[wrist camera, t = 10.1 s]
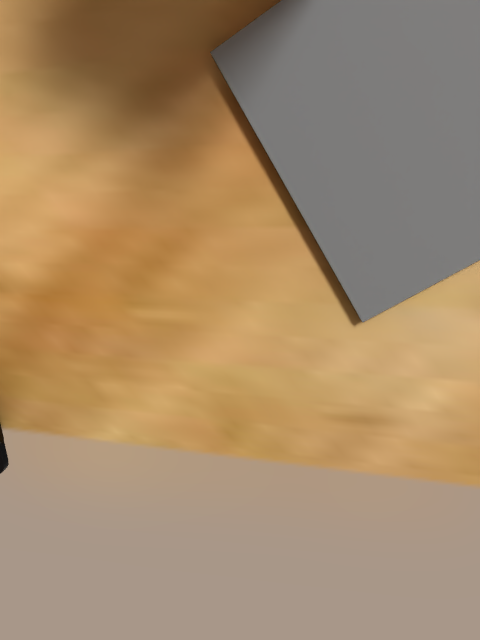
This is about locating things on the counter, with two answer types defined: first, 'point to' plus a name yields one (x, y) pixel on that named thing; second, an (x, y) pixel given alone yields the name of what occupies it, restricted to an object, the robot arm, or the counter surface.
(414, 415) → the counter surface
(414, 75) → the mat
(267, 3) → the counter surface
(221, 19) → the counter surface
